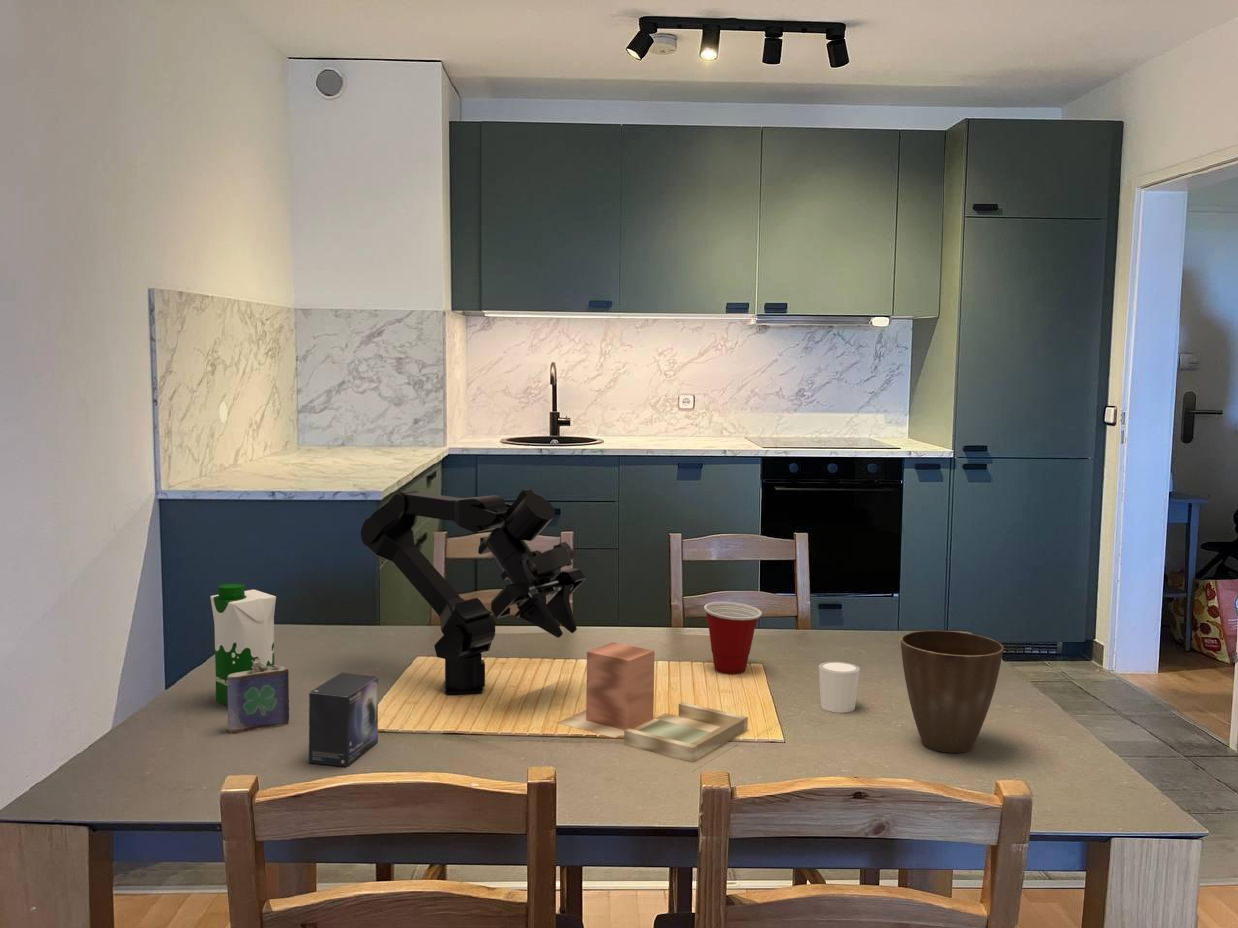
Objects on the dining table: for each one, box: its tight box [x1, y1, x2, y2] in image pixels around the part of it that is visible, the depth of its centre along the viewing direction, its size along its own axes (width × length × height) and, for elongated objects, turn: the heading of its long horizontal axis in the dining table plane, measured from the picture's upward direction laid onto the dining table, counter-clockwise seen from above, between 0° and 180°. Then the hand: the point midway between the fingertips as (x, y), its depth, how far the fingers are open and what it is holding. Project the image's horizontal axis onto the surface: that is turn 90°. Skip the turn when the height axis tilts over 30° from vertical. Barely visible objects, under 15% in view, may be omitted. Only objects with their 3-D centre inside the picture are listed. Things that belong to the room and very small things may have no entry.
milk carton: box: [209, 582, 277, 708], centre depth 177 cm, size 9×9×20 cm
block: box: [585, 642, 656, 730], centre depth 167 cm, size 8×7×11 cm
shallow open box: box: [556, 701, 749, 772], centre depth 164 cm, size 25×16×4 cm, turn 55°
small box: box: [307, 672, 379, 767], centre depth 155 cm, size 11×6×10 cm, turn 168°
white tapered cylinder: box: [818, 661, 861, 714], centre depth 179 cm, size 7×7×7 cm
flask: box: [227, 658, 290, 734], centre depth 166 cm, size 9×3×11 cm, turn 121°
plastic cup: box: [703, 601, 763, 675], centre depth 199 cm, size 11×11×12 cm
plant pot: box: [900, 630, 1005, 754], centre depth 162 cm, size 15×15×16 cm
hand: (567, 633), depth 172 cm, fingers open, 3 cm apart
